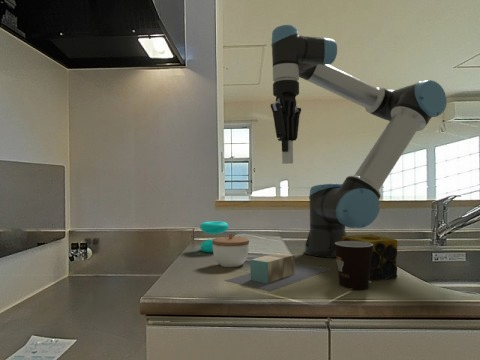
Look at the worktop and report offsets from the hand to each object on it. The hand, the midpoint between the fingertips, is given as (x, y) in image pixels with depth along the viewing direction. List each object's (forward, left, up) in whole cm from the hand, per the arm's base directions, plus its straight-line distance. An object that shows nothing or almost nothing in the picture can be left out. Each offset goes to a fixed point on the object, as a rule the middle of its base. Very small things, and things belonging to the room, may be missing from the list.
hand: (287, 163), depth 112 cm
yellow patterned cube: (-4, +22, -30) cm, 38 cm away
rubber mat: (+11, +5, -30) cm, 32 cm away
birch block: (+8, +5, -27) cm, 28 cm away
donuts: (-3, -34, -30) cm, 45 cm away
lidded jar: (+11, -13, -30) cm, 34 cm away
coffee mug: (+7, +23, -30) cm, 38 cm away
